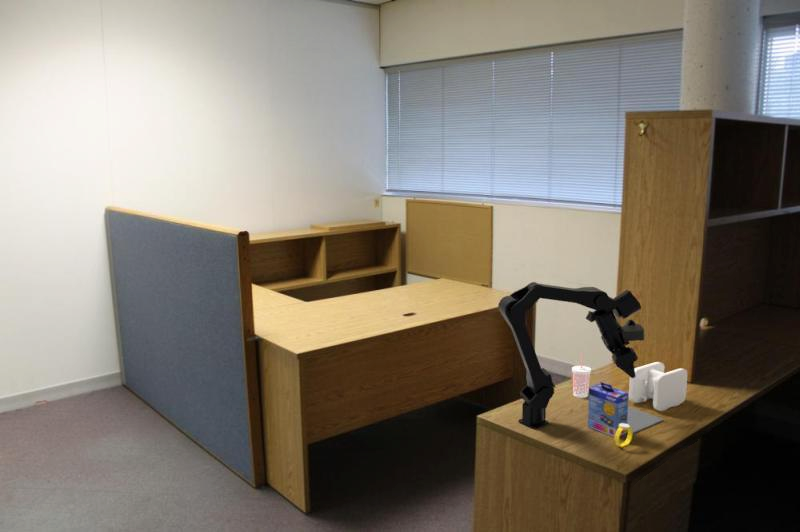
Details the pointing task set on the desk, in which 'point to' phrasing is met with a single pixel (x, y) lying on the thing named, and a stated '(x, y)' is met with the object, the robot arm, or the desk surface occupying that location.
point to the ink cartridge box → (607, 408)
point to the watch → (618, 433)
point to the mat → (640, 419)
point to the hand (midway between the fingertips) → (629, 370)
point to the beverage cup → (581, 380)
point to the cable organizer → (658, 386)
